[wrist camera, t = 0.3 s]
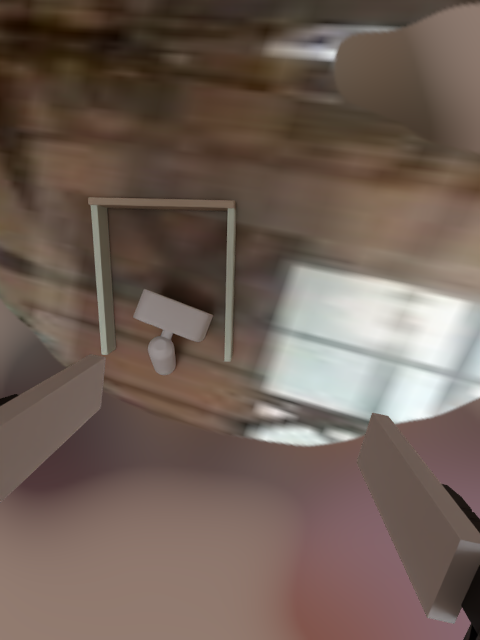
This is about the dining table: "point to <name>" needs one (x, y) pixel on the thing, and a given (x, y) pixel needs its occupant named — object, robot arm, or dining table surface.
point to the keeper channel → (104, 261)
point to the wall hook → (170, 326)
